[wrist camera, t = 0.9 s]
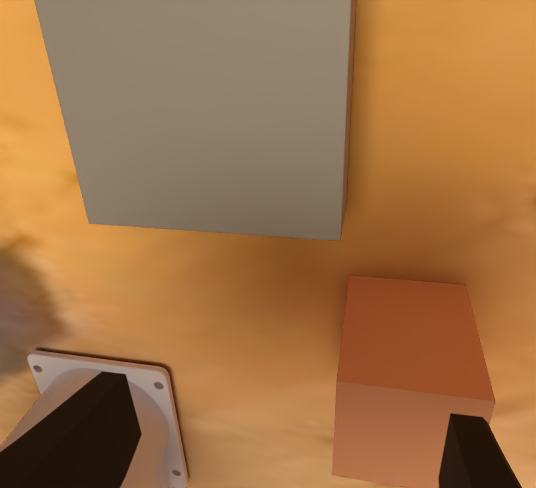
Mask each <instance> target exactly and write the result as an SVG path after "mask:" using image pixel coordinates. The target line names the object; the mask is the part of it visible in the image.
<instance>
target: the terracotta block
mask: <svg viewBox="0 0 536 488" xmlns="http://www.w3.org/2000/svg"><path fill="white" fill-rule="evenodd" d="M494 405H495V398H494V394H493V390H492V386H491V382H490V378H489V375H488V371H487V367H486V363H485V359H484V355H483V351H482V347H481V343H480V339H479V335H478V331H477V328H476V324H475V320H474V316H473V312H472V308H471V304H470V300H469V296H468V292H467V288H466V285H463V284H451V283H439V282H427V281H415V280H403V279H391V278H379V277H367V276H355V275H349V282H348V290H347V298H346V307H345V315H344V324H343V332H342V341H341V349H340V358H339V366H338V374H337V385H336V407H335V428H334V449H333V470H332V475H334V476H340V477H346V478H352V479H358V480H364V481H370V482H376V483H382V484H388V485H394V486H400V487H406V488H439V480H438V477H439V472H440V466H441V461H442V456H443V450H444V445H445V439H446V434H447V429H448V423H449V418H450V413H453V414H462V415H470V416H478V417H483V418H484V419H485V420H486V421H487V422H488V424H489V423H490V419H491V416H492V412H493V408H494Z"/></svg>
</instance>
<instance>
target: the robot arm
mask: <svg viewBox="0 0 536 488" xmlns="http://www.w3.org/2000/svg"><path fill="white" fill-rule="evenodd" d="M27 359H28V362H29V365H30V368H31V370H32V373H33V376H34V378H35V381H36V384H37V387H38V389H39V392H40V395H41V396H40V397H39V399H38V400H37V401H36V402H35V404H34V405H33V406H32V407H31V409H30V410H29V411H28V412H27V414H26V415H25V416H24V417H23V418H22V420H21V421H20V422H19V423H18V425H17V426H16V427H15V428H14V430H13V431H12V432H11V433H10V435H9V436H8V437H7V438H6V439H5V441H4V442H3V443H2V444H1V446H0V488H170V487H174V488H185V487H186V486H187V484H188V481H189V479H188V474H187V468H186V463H185V458H184V452H183V447H182V441H181V436H180V431H179V425H178V420H177V415H176V409H175V404H174V398H173V393H172V388H171V382H170V377H169V373H168V371H167V370H166V369H164V368H163V367H159V366H152V365H144V364H137V363H129V362H122V361H114V360H106V359H99V358H91V357H83V356H76V355H68V354H60V353H53V352H45V351H37V350H35V351H32V352H31V353H30V354H29V355H28V357H27ZM159 382H160V383H159ZM438 480H439V488H522V487H521V485H520V483H519V482H518V480H517V478H516V476H515V474H514V473H513V471H512V469H511V467H510V465H509V464H508V462H507V460H506V458H505V456H504V454H503V452H502V450H501V449H500V447H499V445H498V443H497V441H496V439H495V437H494V435H493V433H492V431H491V429H490V426H489V424H488V422H487V421H486V420H485V419H484V418H483V417H478V416H470V415H462V414H453V413H450V418H449V423H448V429H447V434H446V439H445V445H444V450H443V456H442V461H441V466H440V472H439V477H438Z"/></svg>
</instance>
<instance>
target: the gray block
mask: <svg viewBox="0 0 536 488" xmlns="http://www.w3.org/2000/svg"><path fill="white" fill-rule="evenodd" d="M34 1H35V5H36V9H37V14H38V18H39V22H40V26H41V30H42V34H43V38H44V42H45V46H46V50H47V54H48V58H49V62H50V67H51V71H52V75H53V79H54V83H55V87H56V91H57V95H58V99H59V103H60V107H61V111H62V115H63V120H64V124H65V128H66V132H67V136H68V140H69V144H70V148H71V152H72V156H73V160H74V164H75V168H76V173H77V177H78V181H79V185H80V189H81V193H82V197H83V201H84V205H85V209H86V213H87V217H88V221H89V224H103V225H117V226H132V227H146V228H160V229H175V230H189V231H204V232H218V233H232V234H247V235H261V236H276V237H290V238H304V239H319V240H333V241H340V240H341V234H342V228H343V221H344V215H345V209H346V203H347V184H348V164H349V143H350V123H351V102H352V82H353V62H354V41H355V21H356V0H34Z"/></svg>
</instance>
